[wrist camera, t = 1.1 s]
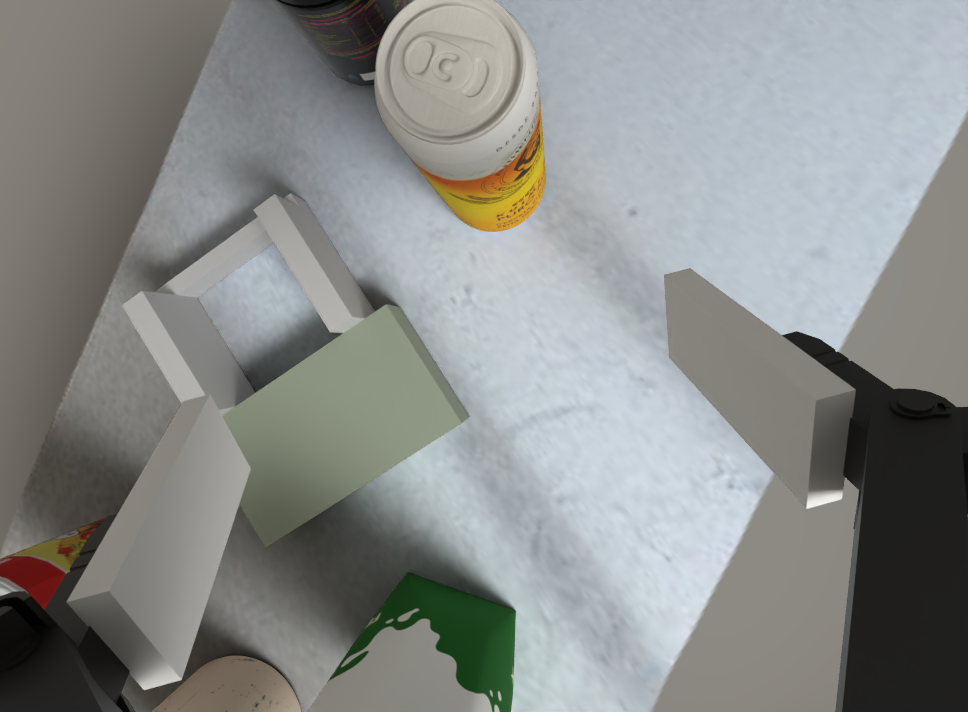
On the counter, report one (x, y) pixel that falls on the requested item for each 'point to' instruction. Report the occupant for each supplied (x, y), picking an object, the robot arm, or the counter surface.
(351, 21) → the supplement container
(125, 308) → the green panel with frame
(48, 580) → the canned food
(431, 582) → the milk carton
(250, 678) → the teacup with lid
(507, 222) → the beer can
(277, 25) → the counter surface
